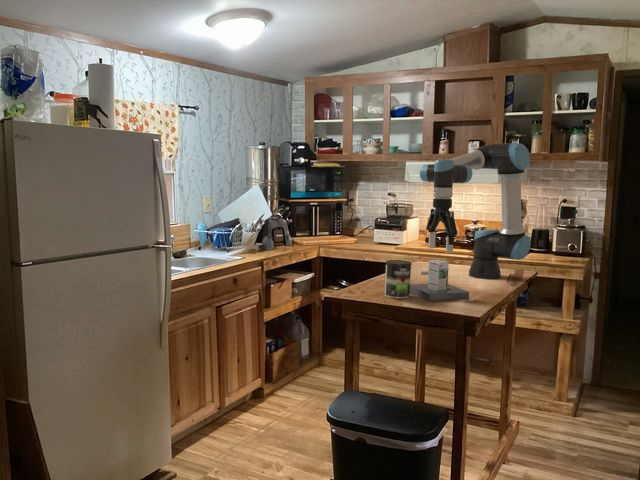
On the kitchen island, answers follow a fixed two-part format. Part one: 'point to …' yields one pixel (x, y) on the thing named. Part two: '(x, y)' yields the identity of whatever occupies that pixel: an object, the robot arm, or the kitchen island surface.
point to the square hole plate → (438, 293)
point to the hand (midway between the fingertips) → (440, 250)
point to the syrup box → (438, 275)
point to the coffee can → (397, 279)
